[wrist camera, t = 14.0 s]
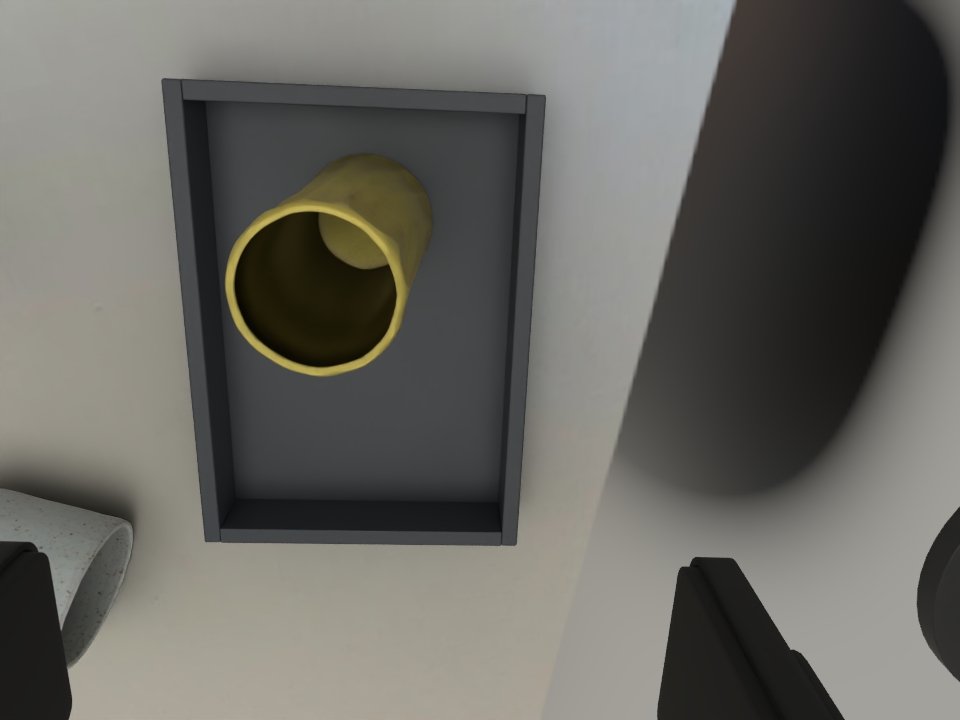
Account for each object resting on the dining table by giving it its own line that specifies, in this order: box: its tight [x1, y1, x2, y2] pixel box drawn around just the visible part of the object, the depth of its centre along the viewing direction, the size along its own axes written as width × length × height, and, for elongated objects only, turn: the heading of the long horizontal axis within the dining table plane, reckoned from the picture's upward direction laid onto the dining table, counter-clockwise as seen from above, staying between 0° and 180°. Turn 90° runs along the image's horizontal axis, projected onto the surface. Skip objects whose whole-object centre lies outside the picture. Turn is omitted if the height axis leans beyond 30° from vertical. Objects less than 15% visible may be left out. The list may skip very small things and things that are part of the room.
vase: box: [225, 154, 433, 377], centre depth 28 cm, size 6×6×14 cm
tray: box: [162, 78, 546, 546], centre depth 35 cm, size 16×22×4 cm
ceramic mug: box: [0, 488, 133, 670], centre depth 37 cm, size 11×8×8 cm
